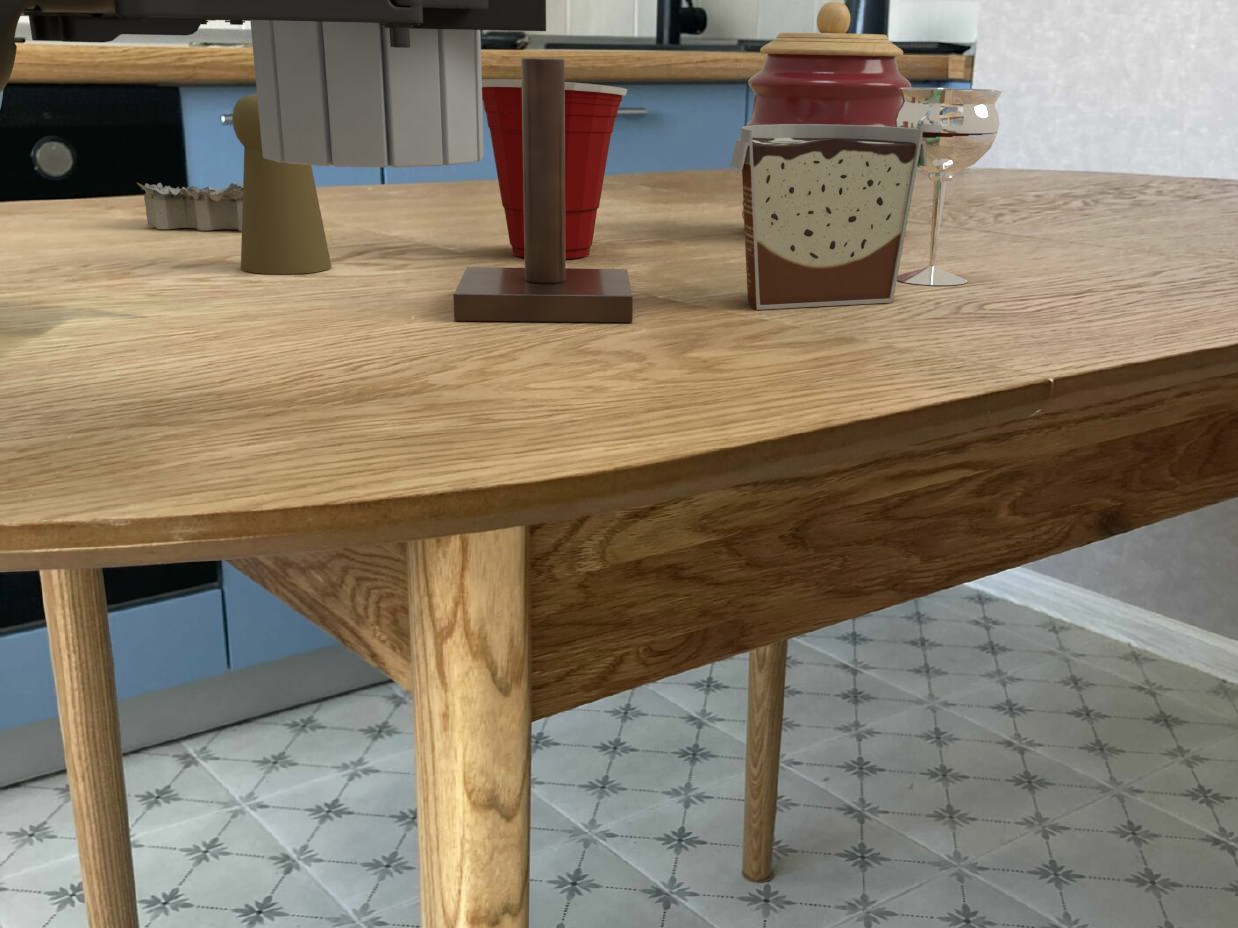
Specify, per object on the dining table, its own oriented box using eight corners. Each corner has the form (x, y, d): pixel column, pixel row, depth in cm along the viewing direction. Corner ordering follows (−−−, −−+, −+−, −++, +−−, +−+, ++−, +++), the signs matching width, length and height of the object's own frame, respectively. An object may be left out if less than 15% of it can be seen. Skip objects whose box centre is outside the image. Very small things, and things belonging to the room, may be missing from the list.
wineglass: (972, 290, 89) (995, 92, 84) (870, 282, 91) (887, 89, 86) (987, 276, 94) (1010, 90, 89) (891, 269, 97) (908, 87, 92)
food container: (864, 285, 89) (877, 123, 85) (913, 301, 84) (930, 129, 80) (692, 294, 85) (698, 124, 81) (733, 311, 80) (742, 130, 76)
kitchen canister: (898, 248, 107) (921, 0, 99) (734, 242, 108) (745, -3, 101) (895, 229, 118) (916, 5, 111) (747, 223, 120) (758, 3, 113)
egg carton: (295, 223, 115) (291, 172, 113) (262, 234, 108) (258, 180, 107) (174, 219, 116) (168, 168, 114) (135, 229, 109) (128, 175, 108)
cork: (301, 276, 89) (286, 95, 84) (222, 270, 91) (203, 93, 86) (348, 264, 94) (336, 93, 90) (272, 258, 96) (257, 91, 91)
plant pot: (243, 165, 49) (219, -84, 46) (288, 147, 57) (271, -68, 54) (474, 169, 50) (467, -78, 46) (488, 151, 57) (483, -62, 54)
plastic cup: (649, 251, 103) (652, 80, 98) (584, 269, 94) (585, 81, 89) (524, 241, 107) (521, 76, 102) (451, 257, 98) (444, 77, 93)
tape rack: (454, 321, 76) (443, 57, 70) (467, 291, 85) (459, 56, 79) (632, 323, 76) (636, 61, 71) (626, 293, 85) (630, 59, 80)
